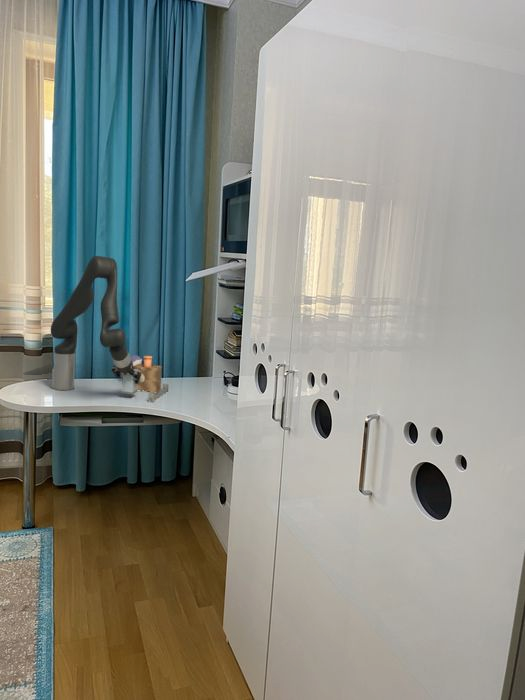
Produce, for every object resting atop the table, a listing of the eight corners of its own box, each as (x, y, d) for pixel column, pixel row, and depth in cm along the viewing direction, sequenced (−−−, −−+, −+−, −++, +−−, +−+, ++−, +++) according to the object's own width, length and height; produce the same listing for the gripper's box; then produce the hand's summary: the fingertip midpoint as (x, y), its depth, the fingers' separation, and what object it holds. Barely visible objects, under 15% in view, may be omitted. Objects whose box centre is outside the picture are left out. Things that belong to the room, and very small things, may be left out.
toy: (147, 383, 305) (148, 354, 303) (140, 387, 295) (141, 357, 293) (127, 381, 307) (128, 352, 304) (120, 385, 297) (121, 355, 295)
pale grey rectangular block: (121, 392, 272) (122, 371, 270) (125, 390, 277) (127, 369, 275) (132, 394, 271) (133, 372, 269) (136, 391, 276) (138, 370, 275)
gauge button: (141, 373, 288) (142, 356, 286) (144, 372, 292) (145, 355, 290) (149, 374, 287) (150, 357, 286) (152, 372, 291) (153, 356, 290)
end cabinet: (131, 390, 288) (132, 366, 286) (137, 387, 295) (138, 363, 293) (155, 393, 286) (156, 368, 284) (160, 389, 293) (161, 366, 291)
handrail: (148, 401, 269) (148, 393, 268) (163, 391, 291) (163, 383, 290) (153, 402, 269) (153, 393, 268) (168, 392, 290) (168, 384, 290)
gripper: (140, 355, 263) (148, 376, 276) (109, 351, 265) (119, 373, 278) (135, 369, 258) (143, 390, 272) (104, 365, 260) (114, 386, 274)
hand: (131, 381), depth 275 cm, fingers closed on pale grey rectangular block, 5 cm apart
